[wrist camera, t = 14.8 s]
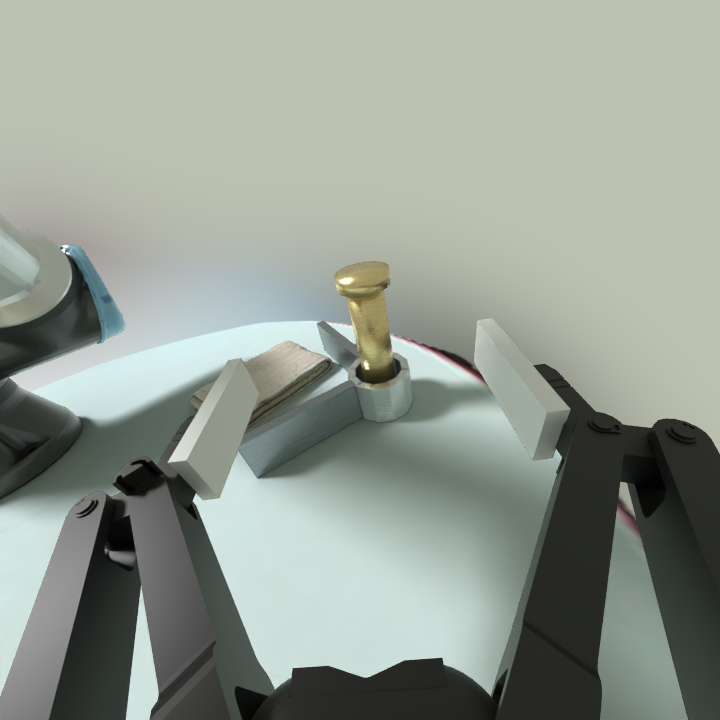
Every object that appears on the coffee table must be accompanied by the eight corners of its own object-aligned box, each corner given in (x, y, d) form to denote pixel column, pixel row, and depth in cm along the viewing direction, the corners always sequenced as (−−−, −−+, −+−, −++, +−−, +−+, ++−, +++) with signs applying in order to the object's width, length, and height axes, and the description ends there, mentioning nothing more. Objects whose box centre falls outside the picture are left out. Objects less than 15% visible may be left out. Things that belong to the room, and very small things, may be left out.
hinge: (230, 393, 42) (214, 367, 39) (345, 340, 49) (339, 314, 46) (264, 500, 27) (242, 469, 24) (423, 402, 34) (421, 369, 31)
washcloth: (192, 409, 42) (181, 393, 40) (292, 347, 51) (286, 332, 49) (226, 449, 34) (214, 432, 32) (336, 368, 43) (331, 352, 41)
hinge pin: (356, 399, 36) (325, 274, 27) (388, 382, 38) (369, 258, 29) (378, 422, 32) (350, 286, 23) (413, 402, 34) (400, 267, 25)
